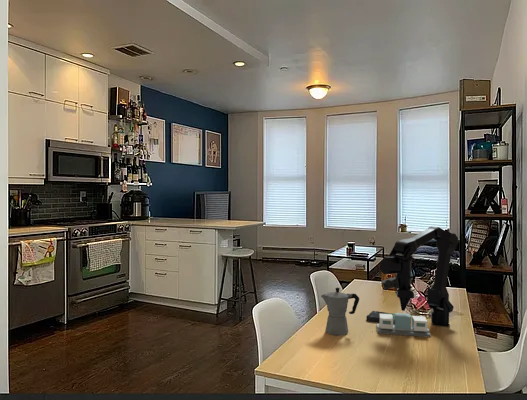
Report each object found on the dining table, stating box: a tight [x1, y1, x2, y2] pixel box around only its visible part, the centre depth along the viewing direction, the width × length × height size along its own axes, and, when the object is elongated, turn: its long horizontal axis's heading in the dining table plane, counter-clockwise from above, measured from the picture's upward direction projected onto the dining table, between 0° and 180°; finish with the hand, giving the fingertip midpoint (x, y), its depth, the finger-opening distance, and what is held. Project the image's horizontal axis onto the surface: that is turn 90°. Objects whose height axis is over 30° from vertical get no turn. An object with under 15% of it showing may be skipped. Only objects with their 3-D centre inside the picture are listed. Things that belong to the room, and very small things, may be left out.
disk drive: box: [365, 310, 395, 325], centre depth 194 cm, size 10×3×15 cm
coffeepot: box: [320, 287, 360, 336], centre depth 177 cm, size 15×9×18 cm, turn 90°
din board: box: [376, 313, 432, 338], centre depth 179 cm, size 20×10×6 cm, turn 78°
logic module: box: [394, 312, 412, 329], centre depth 179 cm, size 6×5×5 cm
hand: (403, 310), depth 179 cm, fingers closed
